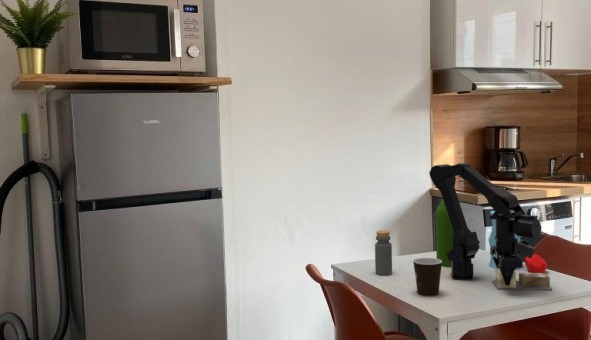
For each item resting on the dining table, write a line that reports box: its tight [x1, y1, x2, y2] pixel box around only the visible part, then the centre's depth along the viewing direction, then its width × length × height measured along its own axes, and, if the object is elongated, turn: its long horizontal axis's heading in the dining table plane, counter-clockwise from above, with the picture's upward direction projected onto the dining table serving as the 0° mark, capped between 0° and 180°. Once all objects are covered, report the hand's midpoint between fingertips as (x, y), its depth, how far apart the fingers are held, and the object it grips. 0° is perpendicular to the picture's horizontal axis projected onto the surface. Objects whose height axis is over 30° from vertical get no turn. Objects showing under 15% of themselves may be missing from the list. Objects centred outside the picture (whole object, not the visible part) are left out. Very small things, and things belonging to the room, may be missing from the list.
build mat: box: [491, 279, 553, 291], centre depth 175 cm, size 16×9×1 cm, turn 81°
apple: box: [524, 253, 548, 273], centre depth 191 cm, size 7×7×8 cm
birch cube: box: [495, 268, 517, 288], centre depth 175 cm, size 5×5×5 cm
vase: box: [488, 210, 522, 271], centre depth 198 cm, size 8×8×20 cm
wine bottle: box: [435, 199, 453, 268], centre depth 204 cm, size 9×9×32 cm
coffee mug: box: [412, 257, 443, 297], centre depth 172 cm, size 12×9×10 cm
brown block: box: [518, 272, 551, 288], centre depth 175 cm, size 8×5×3 cm, turn 81°
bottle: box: [374, 230, 393, 277], centre depth 195 cm, size 6×6×15 cm
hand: (505, 282), depth 175 cm, fingers closed on birch cube, 5 cm apart
